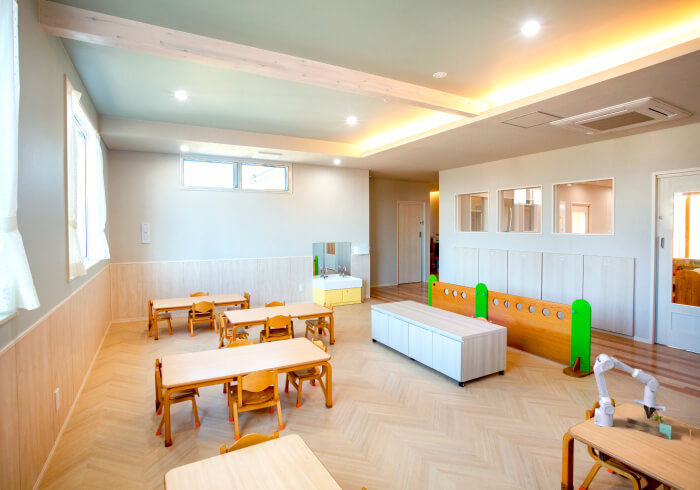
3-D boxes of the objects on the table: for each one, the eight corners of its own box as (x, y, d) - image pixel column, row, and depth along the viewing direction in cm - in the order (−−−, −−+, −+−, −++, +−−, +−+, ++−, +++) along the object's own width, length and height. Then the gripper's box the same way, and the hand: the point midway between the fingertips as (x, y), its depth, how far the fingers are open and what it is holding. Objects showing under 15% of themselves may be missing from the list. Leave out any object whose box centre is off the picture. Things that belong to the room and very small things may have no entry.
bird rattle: (648, 424, 230) (665, 423, 224) (640, 407, 232) (657, 405, 226) (647, 420, 235) (665, 419, 229) (640, 403, 237) (657, 401, 231)
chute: (626, 428, 223) (626, 422, 222) (627, 423, 228) (627, 417, 228) (667, 440, 210) (667, 435, 210) (667, 435, 215) (667, 429, 215)
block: (659, 436, 213) (659, 426, 213) (659, 432, 217) (660, 422, 216) (670, 439, 210) (671, 429, 209) (670, 435, 214) (671, 425, 213)
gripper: (634, 394, 219) (632, 416, 220) (666, 403, 209) (664, 425, 210) (635, 390, 224) (633, 411, 225) (666, 398, 214) (664, 420, 215)
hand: (648, 418), depth 218 cm, fingers closed
